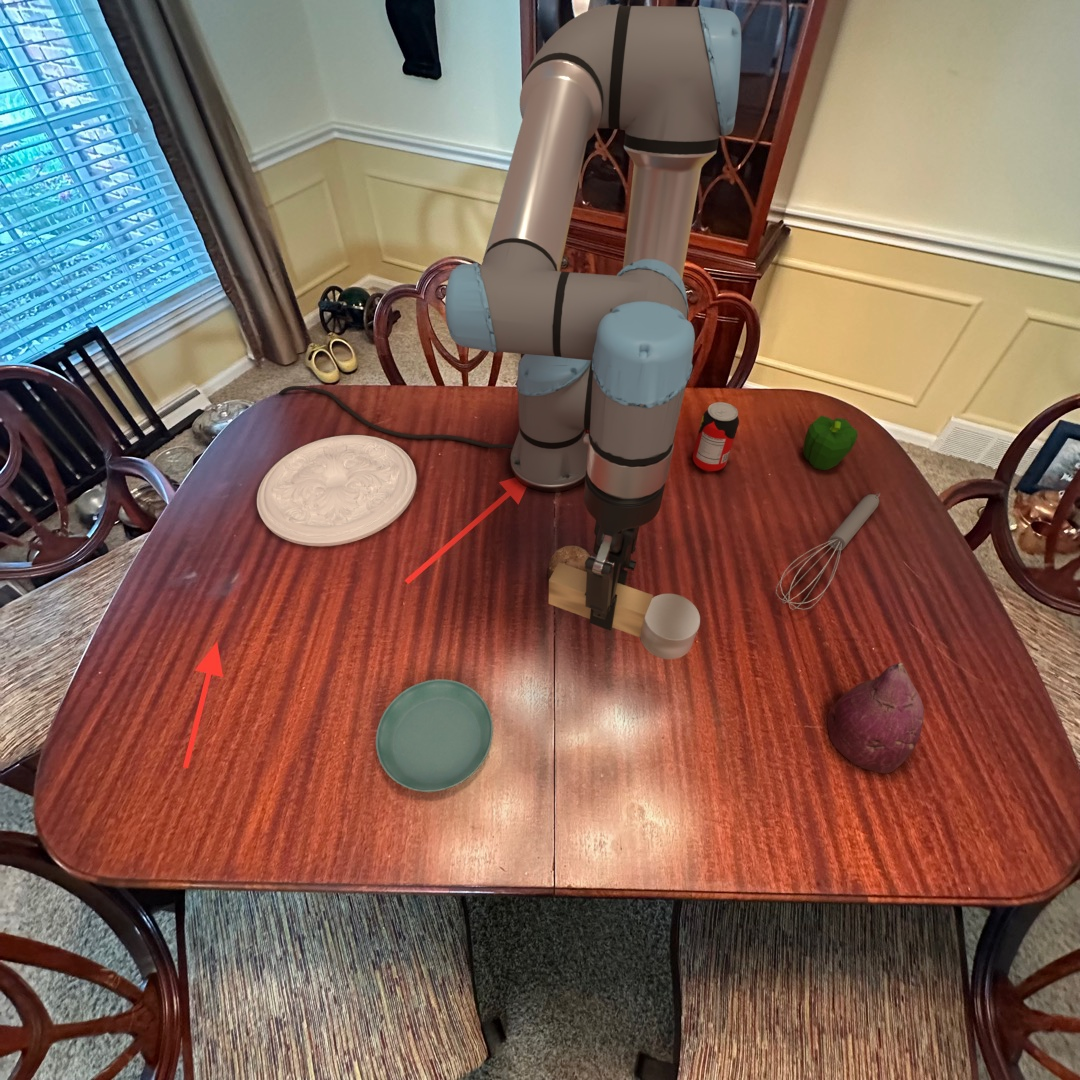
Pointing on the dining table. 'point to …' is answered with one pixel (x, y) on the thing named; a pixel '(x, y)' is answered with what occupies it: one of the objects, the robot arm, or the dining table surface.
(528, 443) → the robot arm
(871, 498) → the kitchen whisk
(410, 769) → the saucer
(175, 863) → the dining table surface
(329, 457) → the ceiling medallion
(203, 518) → the dining table surface
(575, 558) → the mushroom
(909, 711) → the vegetable
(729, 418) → the beverage can
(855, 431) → the bell pepper
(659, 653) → the scoop
